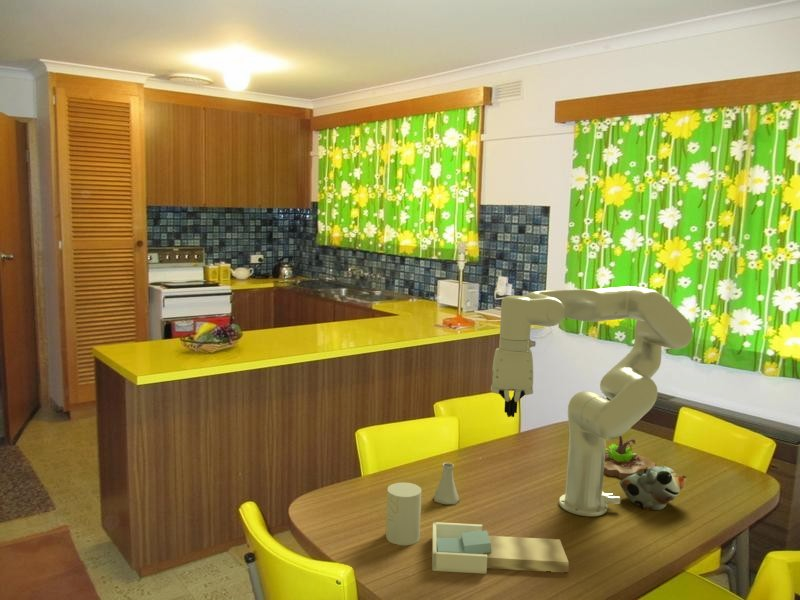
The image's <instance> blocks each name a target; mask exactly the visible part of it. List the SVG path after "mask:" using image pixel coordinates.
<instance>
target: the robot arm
mask: <svg viewBox="0 0 800 600" xmlns="http://www.w3.org/2000/svg"><path fill="white" fill-rule="evenodd" d="M500 308H501V309H500V324H499V325H500V327H499V343H498V345H499V346H498V347H497V348H496V349H495V350H494V351H495V352H494V355H493V363H492V370H491V386H490V392H491V393H494V394H496V395H499V396H501V398H502V399H503V400H504V408H503V409H504V414H505V413H506V416H507V418H510V417H511V418H515V414H517V413H518V412H517V411H518V402H519V401H520V400H521V399H522V398H523V397H524V396H528V395H533V394H534V388H533V386H534V360H533V359H534V358H533V351H532V350H531V348H533V347H536V344H537V343H536V340H531V328H532V327H531V326H540V327H547V328H548V327H555V326H557V325H559V324H560V323H561V322H562V321H563V320H564V319H569V320H576V321H582V322H590V323H592V322H593V323H595V322H605V321H615V320H626V319H627V320H628V319H632V320H636V321H635V325H634V343H633V346H632V349H631V350H630V351H629V353H627V354H626V355H625V356H624V357H623V358H622V359H621V360H619V362H617V363H616V364H615V365H614V366H613V367H612V368H611V369H610V370H608V371H607V372H606V374H605V375H603V376H602V378H601V380H600V381H599V382H600V383H599V389H600V391H601V393H602V394H603V395H604V396H602V395H600V394H598V393H595V392H593V391H587V390H586V391H584V390H583V391H579V392H577V393H575V394H574V395H573V396H572V397H571V398H570V400H569V402H568V405H567V420H568V421H567V422H568V427H569V428H568V429H569V433H568V434H569V438H568V439H569V440H568V450H567V451H568V453H567V454H568V455H567V465H566V466H567V468H566V481H565V482H566V483H565V493H564V494H562V495H561V496H560V497H559V498H558V499H559V500H558V504H559V506H560V507H561V508H562V509H563V510H564V511H566V512H568V513H571V514H573V515H577V516H581V517H599V516H602V515H605V514H606V513H607V511H608V504H613V505H614V504H617V505H618V504H619V505H620V504H621V497H620V496H619V495H618V496H616V495H614V494H613V493H610V492H604V490H603V488H604V475H605V474H604V464H605V453H606V448H607V440H609V441H611V440H615V439H618V438H619V437H620V436H621V437H622V436H623V435H624V434H626V433H627V432H628V431H629V430H630V429H631V428H632V427H633V426H635V425H636V424H637V422H639V421H640V420H641V419H642V418H643V417H644V416H645V415H646V414H647V413H649V411H651V409H652V408H653V407H654V406H655V403H656V401H657V399H658V395H659V394H658V393H659V391H658V386H657V384H656V383H655V381H654V380H653V379H652V377H653V376H654V375H655V374H656V373H657V372H658V370H659V368H660V366H661V364H662V351H663V350H662V347H663V348H667V349H671V350H682V349H684V348H685V347H687V346H688V345H689V344H690V343H691V341H692V339H693V335H694V333H693V328H692V325H691V323H690V321H689V320H688V319H687V318H686V317H685V316H684V315H683V314H682V313H681V312H680V311H679V310H678V309H677V307H675V306H674V305H673V304H672V303H671V302H670V301H669V300H668V299H667V298H666V297H665V296H664V295H663V294H661V293H660V292H658V291H657V290H654V289H650V288H644V287H640V286H629V285H628V286H627V285H626V286H616V287H603V288H589V289H581V288H580V289H560V290H559V289H557V290H556V289H555V290H552V289H551V290H539V291H538V290H537V291H532V292H528V293H526V294H524V295H506V296H504V297H503V298H502V299H501V306H500ZM510 391H513V394H512V398H511V397H510Z"/></svg>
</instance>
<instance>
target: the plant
mask: <svg viewBox="0 0 800 600" xmlns="http://www.w3.org/2000/svg"><path fill="white" fill-rule="evenodd" d="M618 438H619V439H618V440H619V441H618V445H617V444H615V443H611V445H608V448H607V447H606V453H605V464H604V475H605V476H609V477H616V478H618V479H619V478H620V480H624V479H625V478H627V477H628V476H631V475H632V474H635V473H644V469H645V468H646V467H649V468H651V467H655V466H657V463H656V462H654V461H651V460H649V458H647V457H646V456H643V455H640V454H638V453H637V452H633V451H634V446H633V445H637V443H638V442H637V440H636V439H633V438H630V439H628V440H627V441H625V442H624V440H623V437H622V435H621V436H620V437H618ZM632 444H633V445H632ZM628 445H629V446H628ZM627 446H628V447H627Z"/></svg>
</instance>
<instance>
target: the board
mask: <svg viewBox="0 0 800 600" xmlns="http://www.w3.org/2000/svg"><path fill="white" fill-rule="evenodd" d="M488 536H489V539H490V542H491V551H492V552H490V553H484V554H485V555H487V569H497V570H510V571H511V570H514V571H531V572H532V571H533V572H546V571H551V572H550V573H564V572H568V573H569V563H570V562H569V559H568V556H567V554H566V552H565V549H564V547H563V544H562V542H561V539H558V538H557V539H556V538H540V537H537V538H536V537H521V536H519V537H518V536H502V535H488Z"/></svg>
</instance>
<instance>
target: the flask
mask: <svg viewBox="0 0 800 600" xmlns="http://www.w3.org/2000/svg"><path fill="white" fill-rule="evenodd" d="M441 465H442V474H441V478H440V481H439V483H438V486H437V488H436V490H435V492H434V495H433V499H434V502H435V503H438V504H441V505H456V504H457V503H458V502H459V501H460V497H459V493H458V491H457V487H456V484H455V480H454V472H453V469H454V467H455V466H454V465H455V464H454V463H452V462H443V463H442V464H441Z"/></svg>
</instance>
